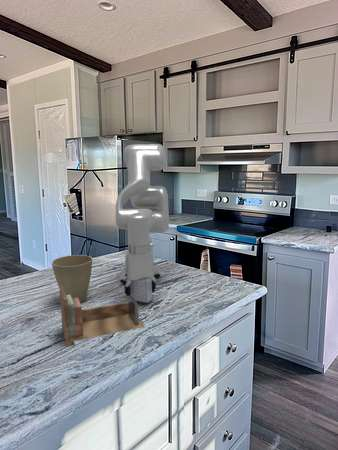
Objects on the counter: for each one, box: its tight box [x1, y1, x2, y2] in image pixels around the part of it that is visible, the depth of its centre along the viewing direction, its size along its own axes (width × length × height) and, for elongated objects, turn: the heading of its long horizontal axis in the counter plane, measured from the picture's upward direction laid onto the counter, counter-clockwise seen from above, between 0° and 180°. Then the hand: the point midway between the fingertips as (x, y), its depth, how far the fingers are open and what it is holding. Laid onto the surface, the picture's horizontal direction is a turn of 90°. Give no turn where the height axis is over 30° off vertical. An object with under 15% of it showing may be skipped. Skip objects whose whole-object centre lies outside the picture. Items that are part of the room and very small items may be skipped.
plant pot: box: [51, 254, 93, 303], centre depth 135 cm, size 15×15×16 cm
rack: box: [58, 286, 146, 347], centre depth 111 cm, size 24×12×14 cm, turn 113°
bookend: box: [127, 295, 140, 325], centre depth 116 cm, size 1×8×7 cm, turn 23°
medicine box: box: [129, 278, 153, 303], centre depth 129 cm, size 8×4×9 cm, turn 70°
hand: (140, 293), depth 129 cm, fingers closed on medicine box, 8 cm apart
